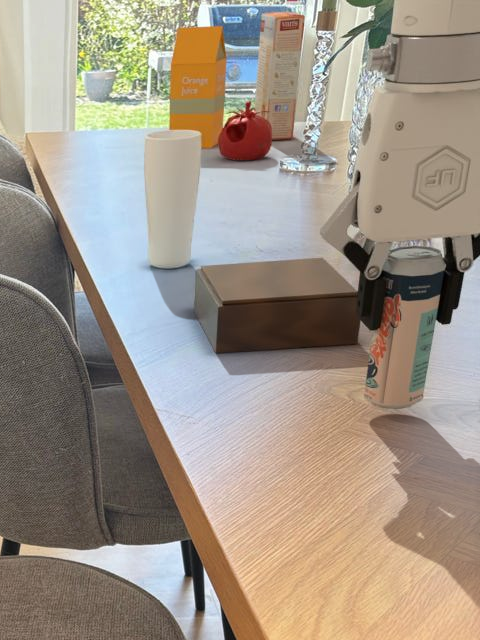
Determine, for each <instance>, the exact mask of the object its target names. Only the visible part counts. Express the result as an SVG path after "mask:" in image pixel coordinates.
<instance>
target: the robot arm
mask: <svg viewBox="0 0 480 640" xmlns="http://www.w3.org/2000/svg"><path fill="white" fill-rule="evenodd" d="M366 54H367V55H366V63H365V65H366V70H367V71H368V72H373V71H375V72H376V71H377V72H378V73H381V74H382V75H381V77H382V78H383V79H384V81H383V84H381V85H377V86H375V87H374V89H373V92H372V96H371V99H370V102H369V105H368V109H367V112H366V115H365V119H364V124H363V128H362V130H361V135H360V139H359V143H358V147H357V152H356V157H355V163H354V167H353V173H352V179H351V184H350V191H349V193H348V194H347V195H346V197H345V198H344V199H343V200H342V201H341V203H340V204H339V205H338V206H337V208H336V209H335V210H334V211H333V213H332V214H331V215H330V217H329V218H328V219H327V221H326V222H325V223H324V224H323V225H322V227H321V228H320V231H319V235H320V237H321V238H322V239H323V240H324V241H325V242H327V243H328V244H329V245H330V246H331V247H333V248H334V249H335V250H337V251H338V252H339V253H341V254H342V255H343V256H344V257H345V258H346V259H347V260H348V261H349V262H350V263H351V264H352V265H353V266H354V267H355V268H356V269H357V270H358V271H359V277H358V284H357V285H358V287H357V291H358V293H357V301H356V315H357V316H358V317H359V318H360V320H361V321H360V322H362V324H363V325H364V326H365V327H366V328H367V329H368V331H370V332H371V331H372V332H373V331H374V330H378V328H380V327H381V320H382V313H383V306H384V298H385V291H386V280H385V279H384V278H383V277H382V272H383V266H384V264H385V261H386V259H387V256H388V254H389V251H390V250H391V249H392V246H393V243H394V242H395V243H396V242H406V241H408V242H409V241H416V240H417V241H419V240H430V239H439V238H440V239H442V250H443V260H444V262H445V264H446V267H445V270H444V275H443V281H442V287H441V293H440V299H439V305H438V311H437V317H436V322H438V323H439V324H441V325H445V326H446V325H450V324H451V323H452V320H453V319H452V318H453V312H454V310H455V311H456V310H457V309H458V308H459V306H460V299H461V294H462V290H463V289H462V288H463V283H464V278H465V273H466V272H468V271H470V270H471V269H472V267H473V266H474V262H475V261H476V260H477V259H478V258H479V257H480V0H394V2H393V11H392V19H391V27H390V34H387V35H386V41H385V42H384V45H381V46H379V48H370V49H368V51H367V53H366ZM350 226H352V227H354V228H357V229H358V230H359V232H360V233H362V235H363V237H364V238H363V240H362V242H361V244H360V243H358V242H357V241H356V240H355V239H354V238H352V237H351V236H349V234H348V229H349V227H350Z"/></svg>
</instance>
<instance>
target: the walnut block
mask: <svg viewBox="0 0 480 640" xmlns="http://www.w3.org/2000/svg"><path fill="white" fill-rule="evenodd" d="M194 275H195V276H194V278H195V279H194V294H193V295H194V298H193V312H194V314H195V316H196V318H197V320H198V322H199V324H200V325H201V328H202V329H203V331H204V333H205V335H206V337H207V340H208V341H209V343H210V345H211V347H212V348H213V350H214V352H215V354H224V353H238V352H254V351H255V352H256V351H269V350H284V349H285V350H286V349H287V350H288V349H300V348H301V349H302V348H318V347H329V346H330V347H333V346H345V345H347V346H348V345H358V341H359V336H360V335H359V333H360V327H361V322H362V321H361V320H360V318H359V317H358V316H357V315H356V301H357V293H358V289H356V288H355V287H354V286H353V285H352V284H350V283H349V281H348V280H347V279H346V278H345V277H344V276H343V275H341V273H339V272H338V271H337V270H336V268H334V267H333V266H332V265H331V264H330V263H329V262H328V261H327V260H326V259H325V258H323V257H313V258H311V257H310V258H297V259H296V258H295V259H284V260H283V259H281V260H269V261H268V260H267V261H266V260H265V261H254V262H253V261H251V262H239V263H237V262H236V263H224V264H211V265H210V264H209V265H201V266H200V268H195V274H194Z"/></svg>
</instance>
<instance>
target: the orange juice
mask: <svg viewBox="0 0 480 640" xmlns="http://www.w3.org/2000/svg"><path fill="white" fill-rule="evenodd" d="M171 57H172V58H171V62H170V85H169V86H170V87H169V88H170V89H169V90H170V91H169V110H168V111H169V112H168V113H169V125H168V126H169V127H168V130H193V131H198V132H200V133H201V149H212V148H214V147H215V146H218V137H219V135H220V133H221V131H222V129H223V128H224V114H225V102H226V81H227V80H226V79H227V77H226V76H227V62H228V61H227V60H228V59H227V58H228V57H227V53H226V43H225V35H224V27H223V25H215V26H211V25H210V26H190V27H189V26H188V27H178V28H177V32H176V37H175V43H174V48H173V53H172V56H171Z"/></svg>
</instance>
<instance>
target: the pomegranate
mask: <svg viewBox="0 0 480 640" xmlns="http://www.w3.org/2000/svg"><path fill="white" fill-rule="evenodd" d="M251 106H252V100H248V101H246V102H245V109H241V108H240V109H238V110H237V111H235V110H233V111H229V112H225V115H226V114H235V115H232V116H229V117H228V118H227V120H226V121H225V123H224V124H223V129H222V131H221V133H220V135H219V137H218V144H217V146H218V151H219V153H220V155H221V156H222V157H223V158H225V159H228V160H232V161H255V160H258V159H262V158H264V157H266V156H267V155H268V153H269V152H270V151H271V147H272V142H273V140H272V127H271V124H270V122H269V121H268V120H266V119H265V118H264V117H262V116H259V115H256V114H258V113H261V112H270V111H264V110H263V111H260V112H254V110H255V108H254V107H251ZM239 112H240V113H239Z"/></svg>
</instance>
